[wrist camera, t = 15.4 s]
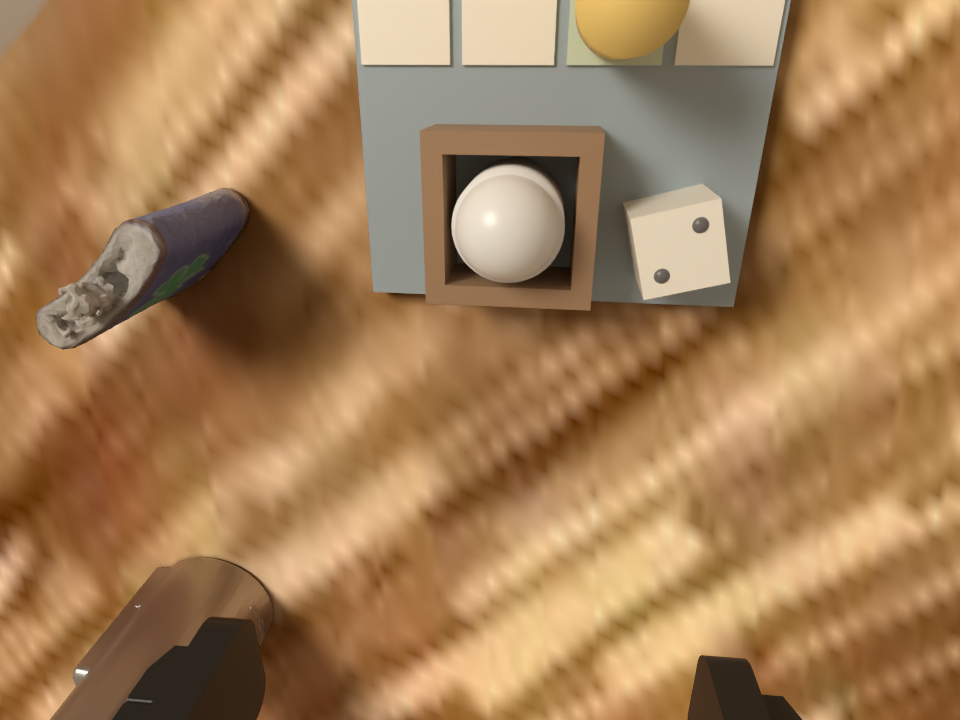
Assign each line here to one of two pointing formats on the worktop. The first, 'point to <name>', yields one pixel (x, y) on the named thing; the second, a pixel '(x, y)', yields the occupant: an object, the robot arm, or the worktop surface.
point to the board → (555, 135)
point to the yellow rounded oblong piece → (628, 25)
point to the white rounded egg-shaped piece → (509, 221)
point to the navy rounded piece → (145, 266)
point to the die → (677, 241)
